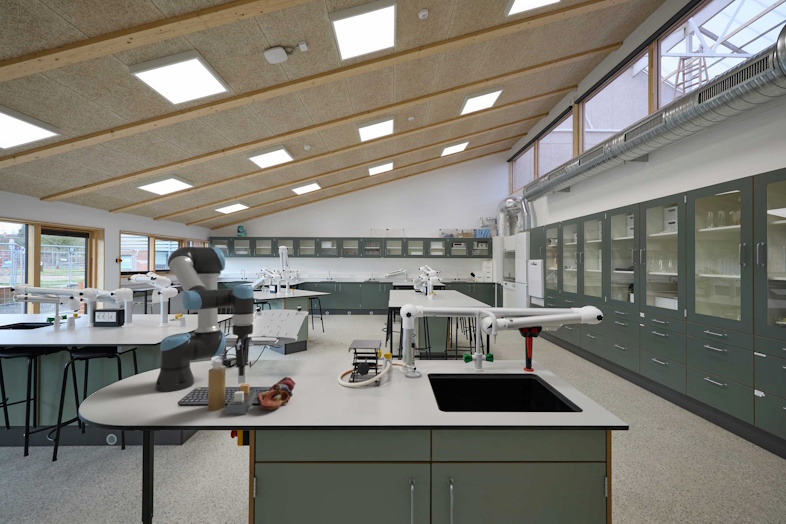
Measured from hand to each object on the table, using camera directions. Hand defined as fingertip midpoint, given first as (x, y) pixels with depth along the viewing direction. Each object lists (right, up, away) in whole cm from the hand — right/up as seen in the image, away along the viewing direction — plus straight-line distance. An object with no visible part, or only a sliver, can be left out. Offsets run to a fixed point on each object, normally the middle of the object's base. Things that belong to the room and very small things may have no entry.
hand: (242, 382), depth 140 cm
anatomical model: (+13, -10, +1) cm, 17 cm away
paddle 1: (0, -6, -4) cm, 7 cm away
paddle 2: (-1, -6, +4) cm, 7 cm away
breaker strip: (-1, -9, +3) cm, 10 cm away
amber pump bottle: (-10, -9, -1) cm, 13 cm away
